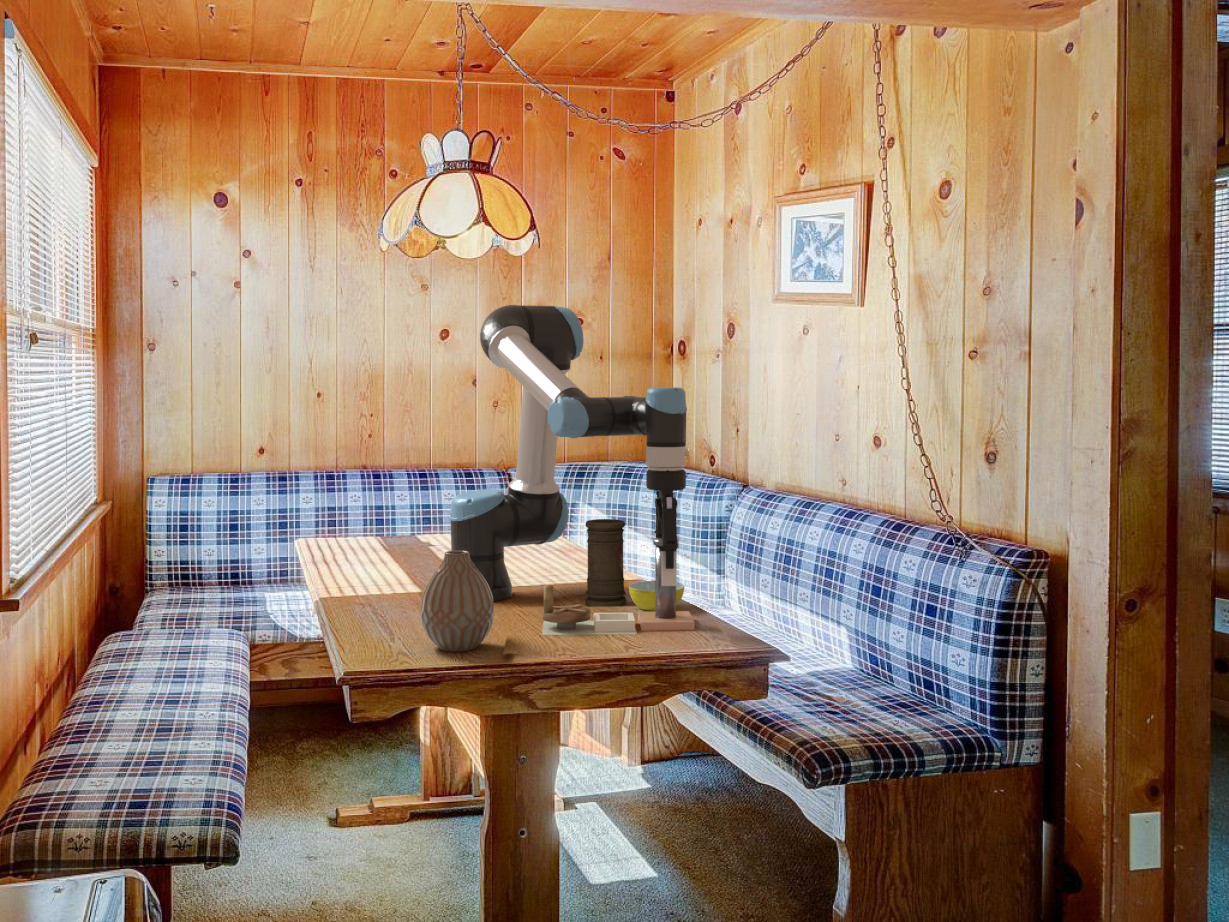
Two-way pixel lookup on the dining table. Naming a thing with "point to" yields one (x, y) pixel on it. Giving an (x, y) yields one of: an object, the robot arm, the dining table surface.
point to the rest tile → (666, 621)
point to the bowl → (649, 594)
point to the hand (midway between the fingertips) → (665, 579)
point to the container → (605, 563)
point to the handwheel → (562, 610)
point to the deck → (594, 625)
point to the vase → (457, 604)
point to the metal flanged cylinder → (663, 588)
